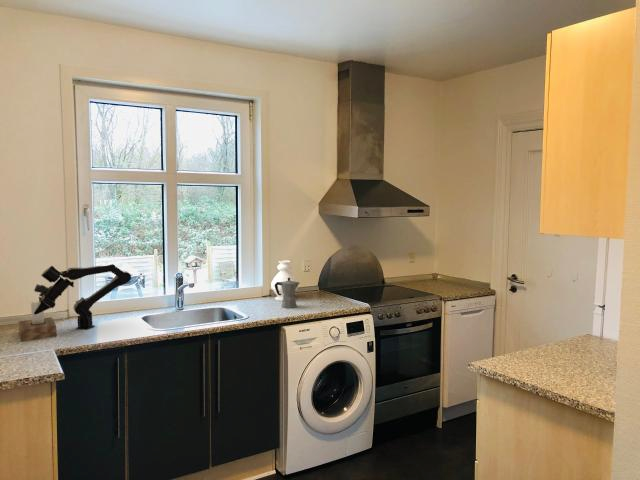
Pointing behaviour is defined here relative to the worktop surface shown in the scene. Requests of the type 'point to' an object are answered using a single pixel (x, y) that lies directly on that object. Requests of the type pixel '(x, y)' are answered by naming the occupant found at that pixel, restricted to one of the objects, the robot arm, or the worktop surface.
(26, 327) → the walnut pocket block
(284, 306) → the coffeepot
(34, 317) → the aluminium bar
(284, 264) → the decorative vase
